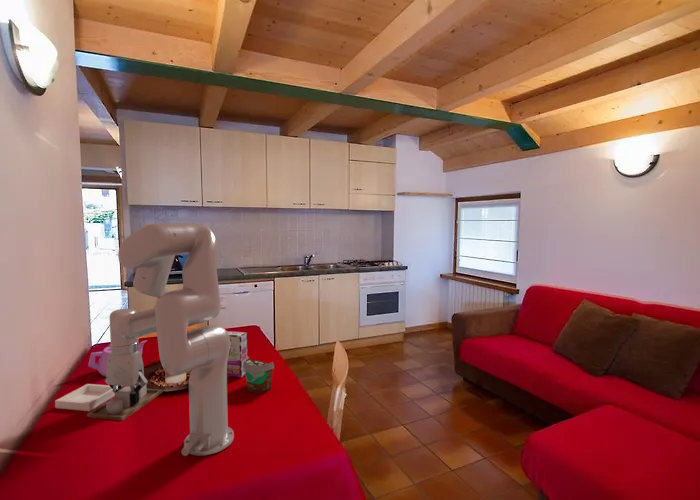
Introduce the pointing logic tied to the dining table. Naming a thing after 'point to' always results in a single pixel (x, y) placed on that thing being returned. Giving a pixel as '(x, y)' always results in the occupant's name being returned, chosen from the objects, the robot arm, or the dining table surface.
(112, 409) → the pebble round
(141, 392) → the white cube
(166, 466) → the dining table surface
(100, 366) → the teapot
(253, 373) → the food container
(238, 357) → the candy bar box
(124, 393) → the stone cube
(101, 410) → the walnut tray
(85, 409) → the dish
